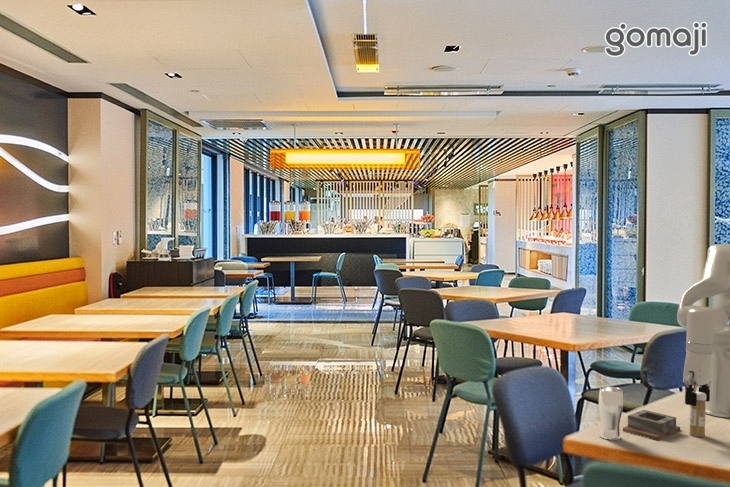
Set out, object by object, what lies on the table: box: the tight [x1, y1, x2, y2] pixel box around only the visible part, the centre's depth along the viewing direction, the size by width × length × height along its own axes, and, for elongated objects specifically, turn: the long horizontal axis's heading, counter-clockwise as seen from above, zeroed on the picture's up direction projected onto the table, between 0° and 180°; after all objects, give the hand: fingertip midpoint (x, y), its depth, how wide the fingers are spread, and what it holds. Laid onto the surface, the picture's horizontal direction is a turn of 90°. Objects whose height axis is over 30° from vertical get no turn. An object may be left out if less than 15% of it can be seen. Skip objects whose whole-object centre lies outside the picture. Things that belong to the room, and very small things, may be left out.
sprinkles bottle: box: [688, 390, 706, 438], centre depth 197 cm, size 5×5×13 cm
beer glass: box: [598, 385, 624, 441], centre depth 193 cm, size 7×7×15 cm
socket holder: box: [622, 409, 681, 441], centre depth 201 cm, size 16×11×4 cm
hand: (697, 402), depth 196 cm, fingers open, 9 cm apart
